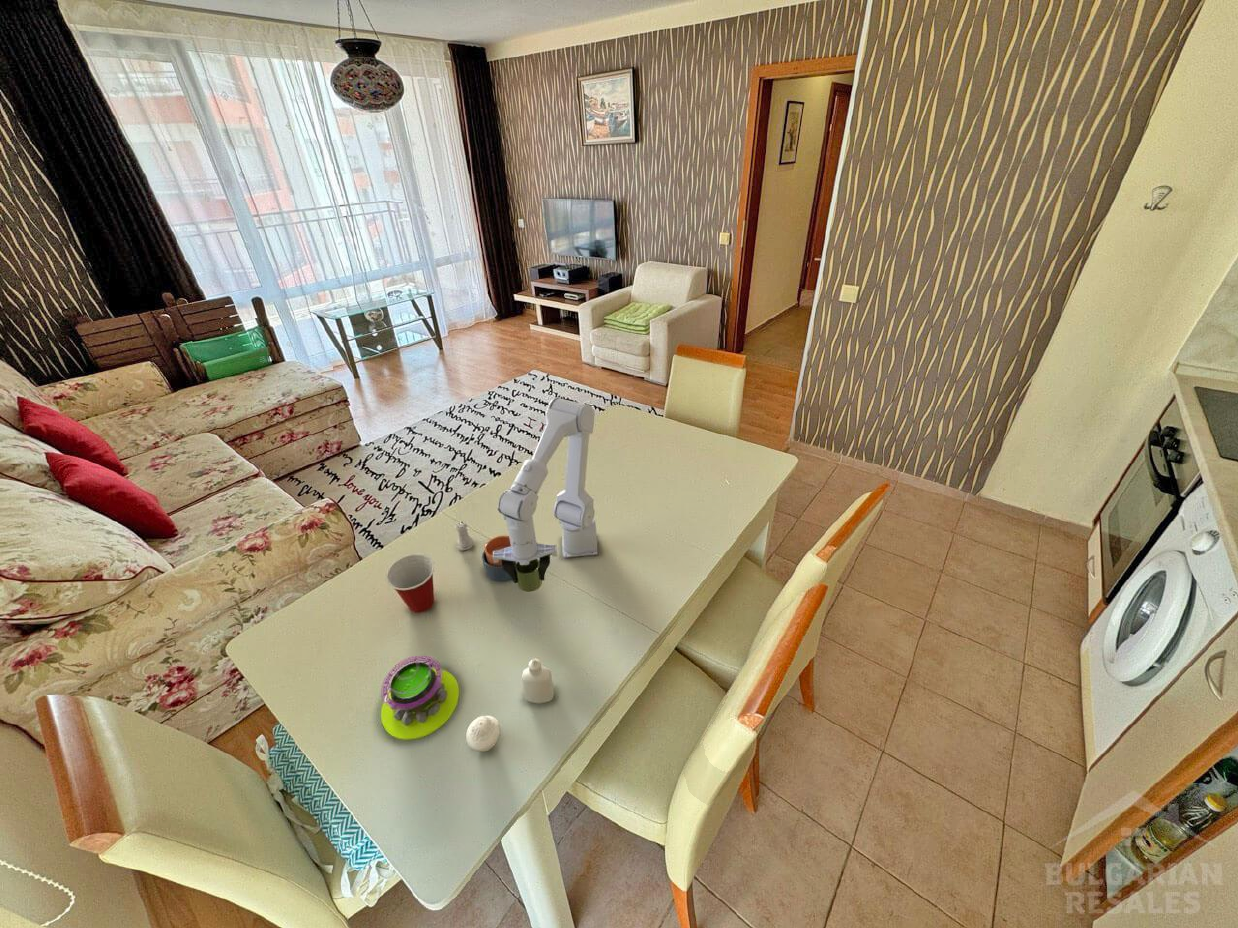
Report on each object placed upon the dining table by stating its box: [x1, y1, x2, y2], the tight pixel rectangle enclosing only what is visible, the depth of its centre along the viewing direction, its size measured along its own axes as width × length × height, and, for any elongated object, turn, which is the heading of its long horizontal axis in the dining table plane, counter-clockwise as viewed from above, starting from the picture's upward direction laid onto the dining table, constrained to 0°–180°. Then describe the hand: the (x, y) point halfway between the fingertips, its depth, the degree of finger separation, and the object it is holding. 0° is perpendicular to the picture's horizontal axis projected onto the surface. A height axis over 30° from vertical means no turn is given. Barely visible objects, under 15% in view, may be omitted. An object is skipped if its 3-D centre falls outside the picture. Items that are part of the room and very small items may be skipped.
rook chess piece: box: [454, 520, 475, 551], centre depth 135 cm, size 4×4×8 cm
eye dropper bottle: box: [521, 657, 555, 704], centre depth 96 cm, size 4×6×12 cm
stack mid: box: [484, 535, 511, 567], centre depth 128 cm, size 8×8×8 cm
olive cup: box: [515, 558, 543, 593], centre depth 116 cm, size 6×6×6 cm
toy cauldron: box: [380, 654, 460, 741], centre depth 96 cm, size 15×15×11 cm
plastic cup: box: [385, 552, 435, 614], centre depth 116 cm, size 11×11×12 cm
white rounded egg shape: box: [465, 715, 501, 752], centre depth 90 cm, size 6×6×7 cm
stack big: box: [481, 549, 516, 583], centre depth 129 cm, size 10×10×5 cm
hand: (529, 578), depth 117 cm, fingers closed on olive cup, 6 cm apart
